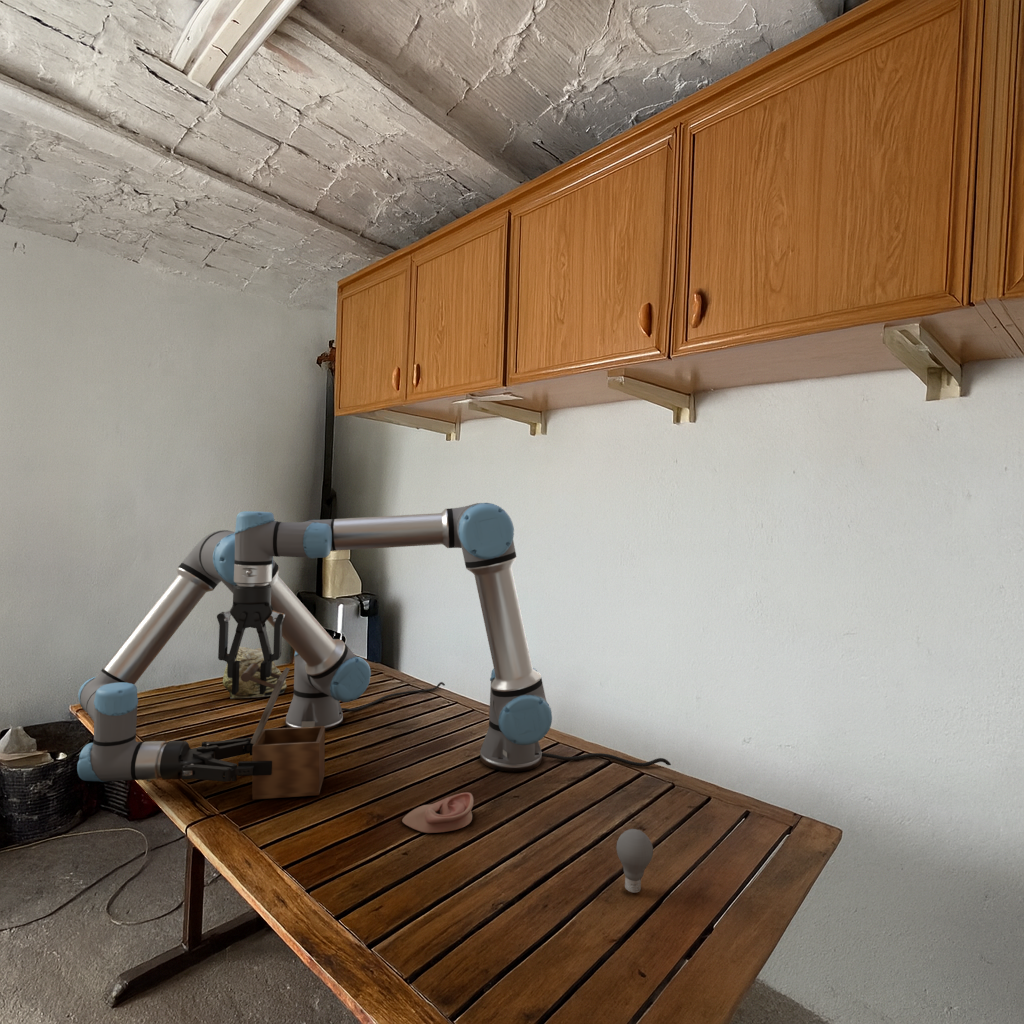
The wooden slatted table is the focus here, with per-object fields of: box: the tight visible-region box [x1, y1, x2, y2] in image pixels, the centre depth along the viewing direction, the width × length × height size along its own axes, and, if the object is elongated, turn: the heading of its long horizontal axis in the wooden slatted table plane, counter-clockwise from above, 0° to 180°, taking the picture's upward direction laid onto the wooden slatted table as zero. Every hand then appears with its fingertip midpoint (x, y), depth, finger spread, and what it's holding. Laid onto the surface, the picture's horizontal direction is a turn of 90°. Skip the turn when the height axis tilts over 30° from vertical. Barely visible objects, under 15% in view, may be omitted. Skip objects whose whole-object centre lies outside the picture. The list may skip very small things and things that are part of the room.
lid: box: [241, 663, 291, 744], centre depth 135 cm, size 14×10×8 cm
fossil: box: [222, 646, 288, 699], centre depth 198 cm, size 9×18×15 cm, turn 132°
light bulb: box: [615, 828, 654, 894], centre depth 106 cm, size 6×6×10 cm
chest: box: [251, 726, 326, 800], centre depth 137 cm, size 13×10×11 cm
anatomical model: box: [401, 791, 474, 834], centre depth 126 cm, size 13×4×12 cm
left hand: (276, 757), depth 137 cm, fingers closed on chest, 10 cm apart
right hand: (249, 692), depth 135 cm, fingers open, 5 cm apart
